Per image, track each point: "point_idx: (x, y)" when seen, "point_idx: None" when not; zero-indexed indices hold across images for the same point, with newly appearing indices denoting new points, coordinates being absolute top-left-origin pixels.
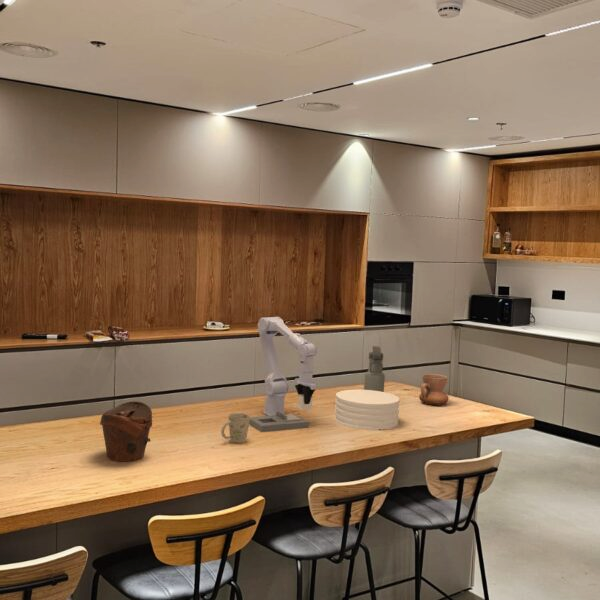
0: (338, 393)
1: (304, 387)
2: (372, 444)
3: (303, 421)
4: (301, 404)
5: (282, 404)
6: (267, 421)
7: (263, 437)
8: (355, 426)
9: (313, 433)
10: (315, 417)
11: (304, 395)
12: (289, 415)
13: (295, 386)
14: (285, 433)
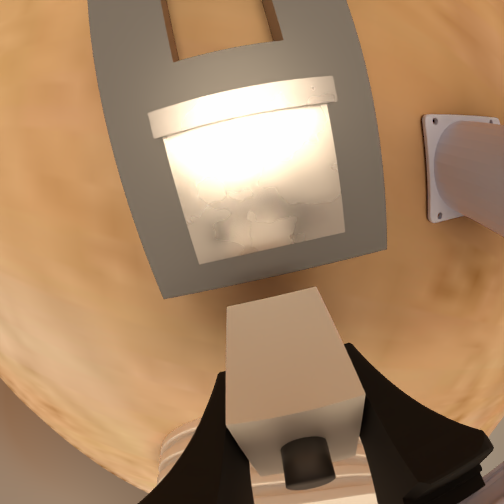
0: (351, 499)
1: (384, 498)
2: (20, 392)
3: (169, 267)
4: (240, 340)
5: (482, 210)
6: (271, 19)
7: (23, 12)
8: (174, 435)
9: (65, 272)
10: (367, 350)
11: (204, 449)
12: (310, 197)
13: (470, 445)
14: (54, 114)
